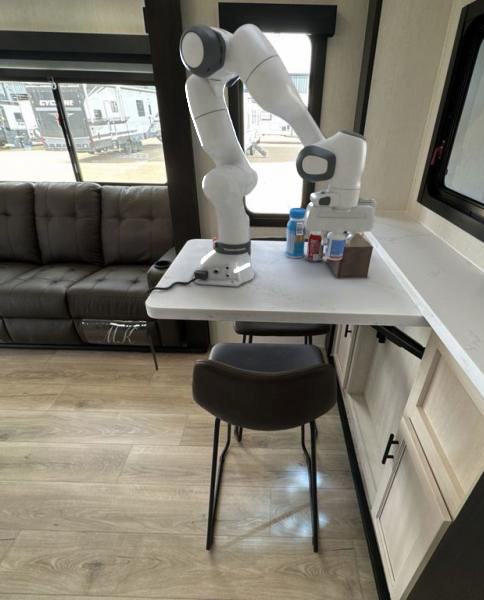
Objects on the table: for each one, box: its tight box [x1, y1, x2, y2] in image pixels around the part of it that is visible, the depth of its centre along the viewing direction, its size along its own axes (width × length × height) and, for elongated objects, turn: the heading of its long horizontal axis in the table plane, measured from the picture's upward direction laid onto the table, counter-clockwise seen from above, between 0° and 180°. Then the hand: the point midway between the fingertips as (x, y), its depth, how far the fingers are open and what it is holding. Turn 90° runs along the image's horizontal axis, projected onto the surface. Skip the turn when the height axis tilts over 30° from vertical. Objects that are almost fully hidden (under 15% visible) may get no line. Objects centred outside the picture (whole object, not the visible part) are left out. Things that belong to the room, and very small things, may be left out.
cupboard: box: [338, 232, 374, 279], centre depth 121 cm, size 11×16×13 cm
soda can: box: [306, 231, 326, 263], centre depth 129 cm, size 7×7×12 cm
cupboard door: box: [319, 242, 341, 279], centre depth 120 cm, size 5×16×12 cm, turn 5°
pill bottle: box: [324, 228, 346, 260], centre depth 92 cm, size 6×5×10 cm
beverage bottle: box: [285, 207, 307, 259], centre depth 131 cm, size 8×8×20 cm
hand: (335, 244), depth 92 cm, fingers closed on pill bottle, 5 cm apart
